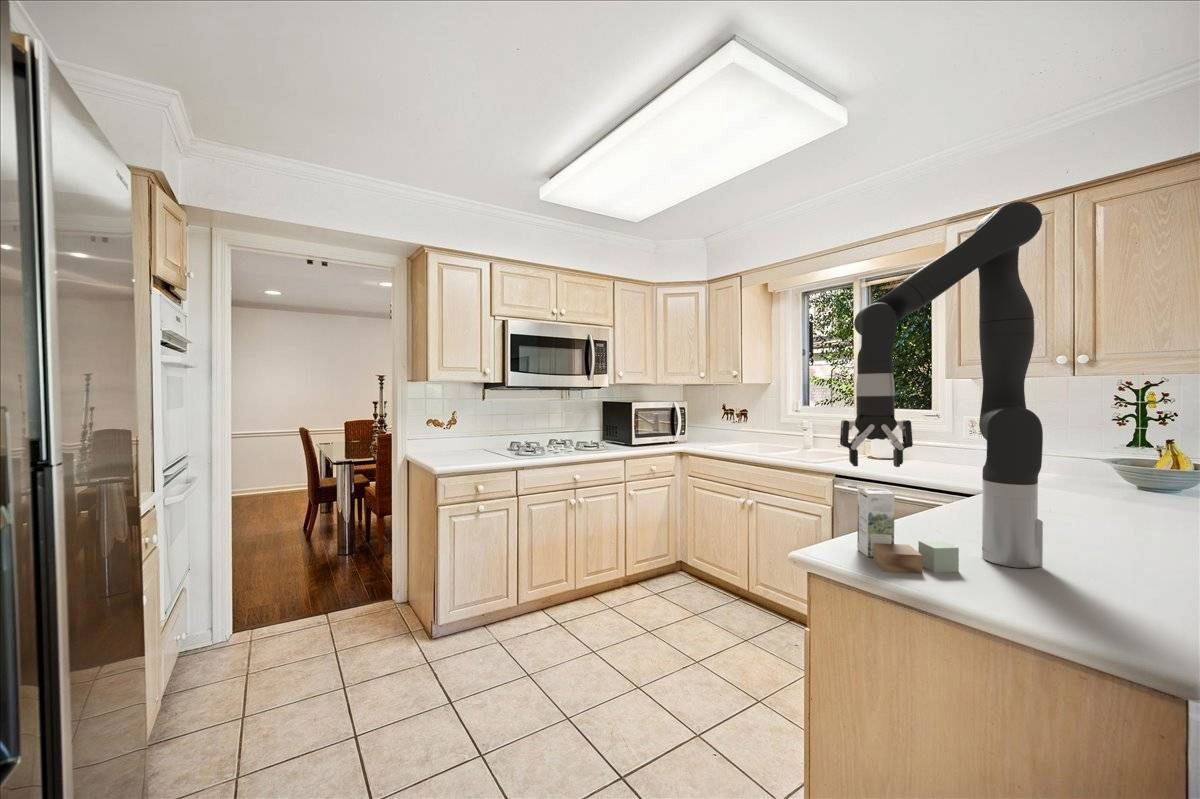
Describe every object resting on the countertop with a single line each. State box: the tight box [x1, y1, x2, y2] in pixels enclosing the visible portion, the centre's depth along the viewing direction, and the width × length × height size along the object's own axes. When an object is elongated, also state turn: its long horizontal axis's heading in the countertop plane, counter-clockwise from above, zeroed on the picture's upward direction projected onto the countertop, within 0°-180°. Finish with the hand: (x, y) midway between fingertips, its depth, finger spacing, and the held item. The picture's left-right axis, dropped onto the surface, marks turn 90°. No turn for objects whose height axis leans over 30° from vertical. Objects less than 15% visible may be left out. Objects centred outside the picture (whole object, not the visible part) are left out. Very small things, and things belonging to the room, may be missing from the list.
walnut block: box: [873, 543, 923, 575], centre depth 107 cm, size 7×7×4 cm
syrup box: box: [857, 488, 896, 558], centre depth 115 cm, size 6×6×14 cm
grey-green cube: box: [918, 540, 960, 573], centre depth 106 cm, size 5×5×5 cm
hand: (875, 466), depth 115 cm, fingers open, 8 cm apart
